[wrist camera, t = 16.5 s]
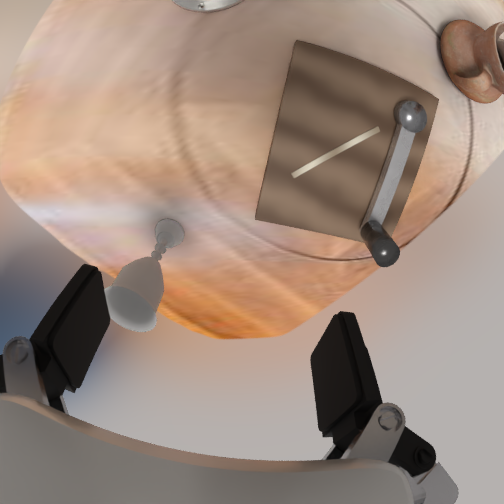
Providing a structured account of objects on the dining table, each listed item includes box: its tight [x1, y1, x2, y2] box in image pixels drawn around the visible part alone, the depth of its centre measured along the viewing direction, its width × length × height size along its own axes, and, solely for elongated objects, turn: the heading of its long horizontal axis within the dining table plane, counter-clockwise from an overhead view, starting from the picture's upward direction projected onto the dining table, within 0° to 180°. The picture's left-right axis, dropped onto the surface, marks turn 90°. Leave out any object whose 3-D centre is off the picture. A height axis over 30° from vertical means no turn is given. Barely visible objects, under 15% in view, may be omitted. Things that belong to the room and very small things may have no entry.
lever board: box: [255, 40, 439, 243], centre depth 34 cm, size 26×22×2 cm
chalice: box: [104, 219, 184, 332], centre depth 35 cm, size 7×7×18 cm
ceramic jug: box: [440, 20, 504, 103], centre depth 18 cm, size 18×14×14 cm
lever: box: [359, 100, 427, 267], centre depth 30 cm, size 22×4×8 cm, turn 168°
